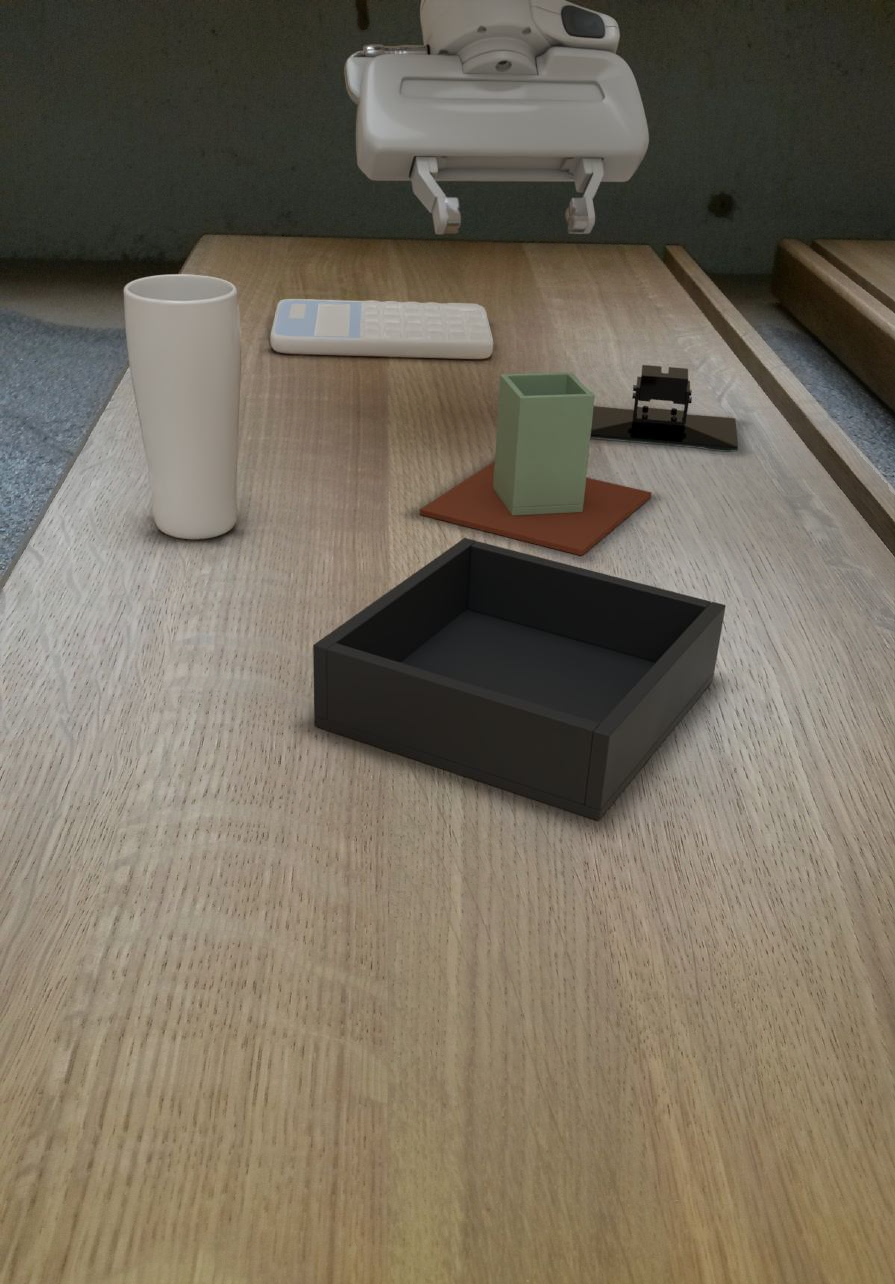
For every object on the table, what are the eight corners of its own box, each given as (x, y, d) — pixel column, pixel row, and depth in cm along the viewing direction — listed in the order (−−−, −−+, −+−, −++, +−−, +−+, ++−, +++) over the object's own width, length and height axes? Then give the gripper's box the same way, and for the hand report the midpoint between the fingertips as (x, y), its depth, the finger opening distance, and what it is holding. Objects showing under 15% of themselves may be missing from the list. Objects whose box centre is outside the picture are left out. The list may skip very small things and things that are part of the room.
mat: (651, 497, 96) (651, 492, 95) (581, 556, 87) (582, 550, 87) (499, 462, 100) (500, 457, 100) (419, 514, 91) (419, 509, 91)
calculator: (494, 361, 121) (495, 339, 120) (269, 354, 120) (268, 333, 119) (484, 321, 132) (485, 301, 131) (278, 314, 131) (277, 294, 130)
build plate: (734, 423, 110) (744, 366, 108) (737, 454, 104) (748, 394, 102) (582, 408, 111) (588, 351, 109) (576, 438, 105) (583, 378, 103)
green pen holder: (560, 485, 96) (571, 372, 91) (582, 512, 92) (594, 395, 87) (492, 488, 95) (499, 374, 90) (511, 516, 91) (520, 398, 86)
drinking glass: (177, 556, 84) (158, 308, 76) (124, 521, 88) (100, 282, 80) (269, 532, 88) (260, 292, 80) (213, 499, 92) (200, 268, 84)
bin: (713, 681, 74) (726, 604, 71) (598, 821, 62) (609, 735, 60) (460, 610, 80) (464, 537, 77) (314, 726, 68) (312, 644, 66)
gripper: (346, 10, 89) (371, 200, 87) (639, 20, 93) (671, 201, 91) (335, 78, 95) (358, 257, 93) (611, 84, 100) (640, 255, 97)
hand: (516, 229), depth 92 cm, fingers open, 8 cm apart
